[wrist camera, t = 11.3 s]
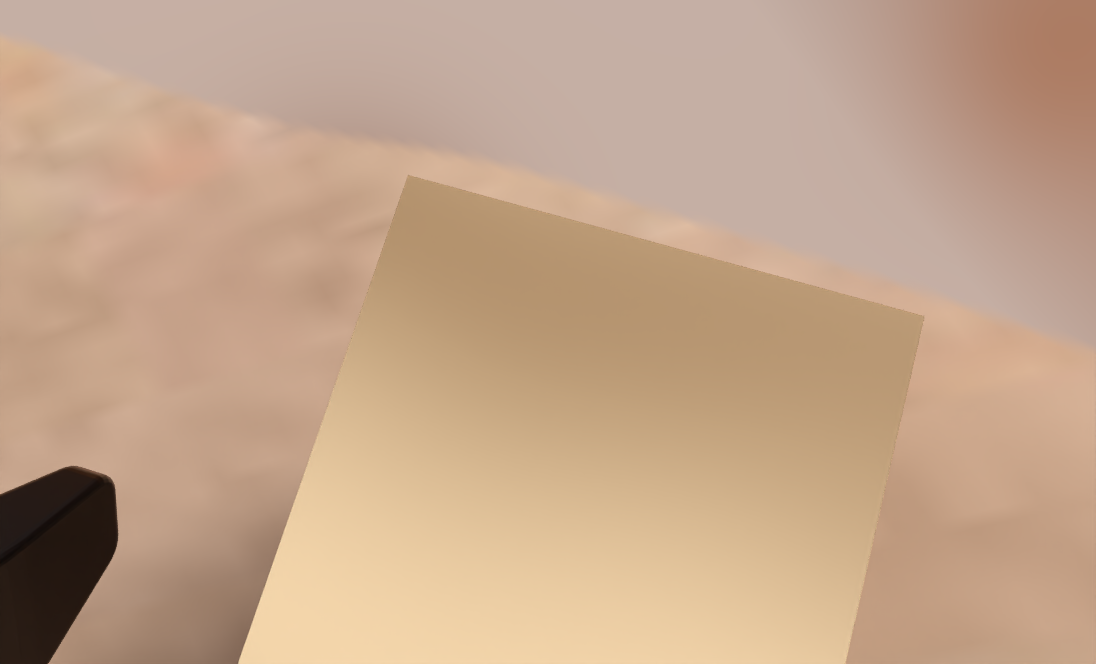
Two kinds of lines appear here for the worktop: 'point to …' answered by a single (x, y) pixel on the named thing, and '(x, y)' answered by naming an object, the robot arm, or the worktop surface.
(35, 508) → the robot arm
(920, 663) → the worktop surface
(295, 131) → the worktop surface
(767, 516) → the pale gold square block
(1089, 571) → the worktop surface
